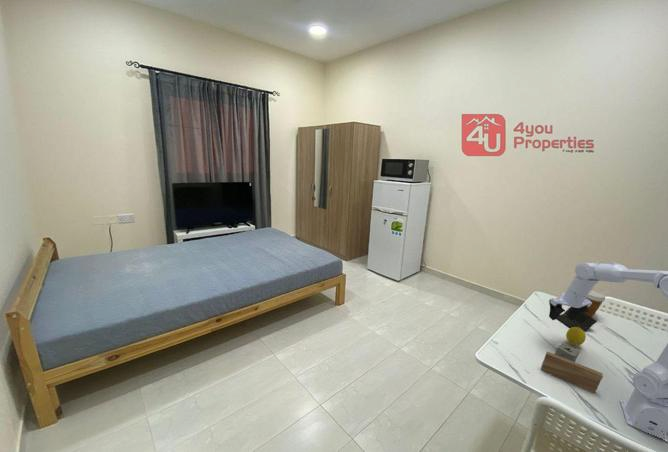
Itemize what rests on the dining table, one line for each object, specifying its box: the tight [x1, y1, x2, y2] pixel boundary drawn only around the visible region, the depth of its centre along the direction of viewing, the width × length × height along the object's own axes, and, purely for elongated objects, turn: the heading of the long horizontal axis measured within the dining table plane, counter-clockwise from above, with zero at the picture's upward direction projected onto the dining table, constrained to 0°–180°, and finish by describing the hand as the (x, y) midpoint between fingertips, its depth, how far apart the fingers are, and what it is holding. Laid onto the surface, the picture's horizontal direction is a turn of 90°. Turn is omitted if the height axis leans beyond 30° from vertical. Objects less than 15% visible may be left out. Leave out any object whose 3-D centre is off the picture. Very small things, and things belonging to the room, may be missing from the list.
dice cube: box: [554, 342, 581, 363], centre depth 99 cm, size 5×5×5 cm
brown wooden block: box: [540, 351, 604, 394], centre depth 90 cm, size 2×14×7 cm, turn 54°
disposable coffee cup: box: [585, 288, 606, 318], centre depth 127 cm, size 10×10×12 cm
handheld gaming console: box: [555, 306, 598, 333], centre depth 121 cm, size 12×7×10 cm
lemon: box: [565, 327, 586, 346], centre depth 107 cm, size 6×6×8 cm
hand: (560, 318), depth 106 cm, fingers open, 7 cm apart
